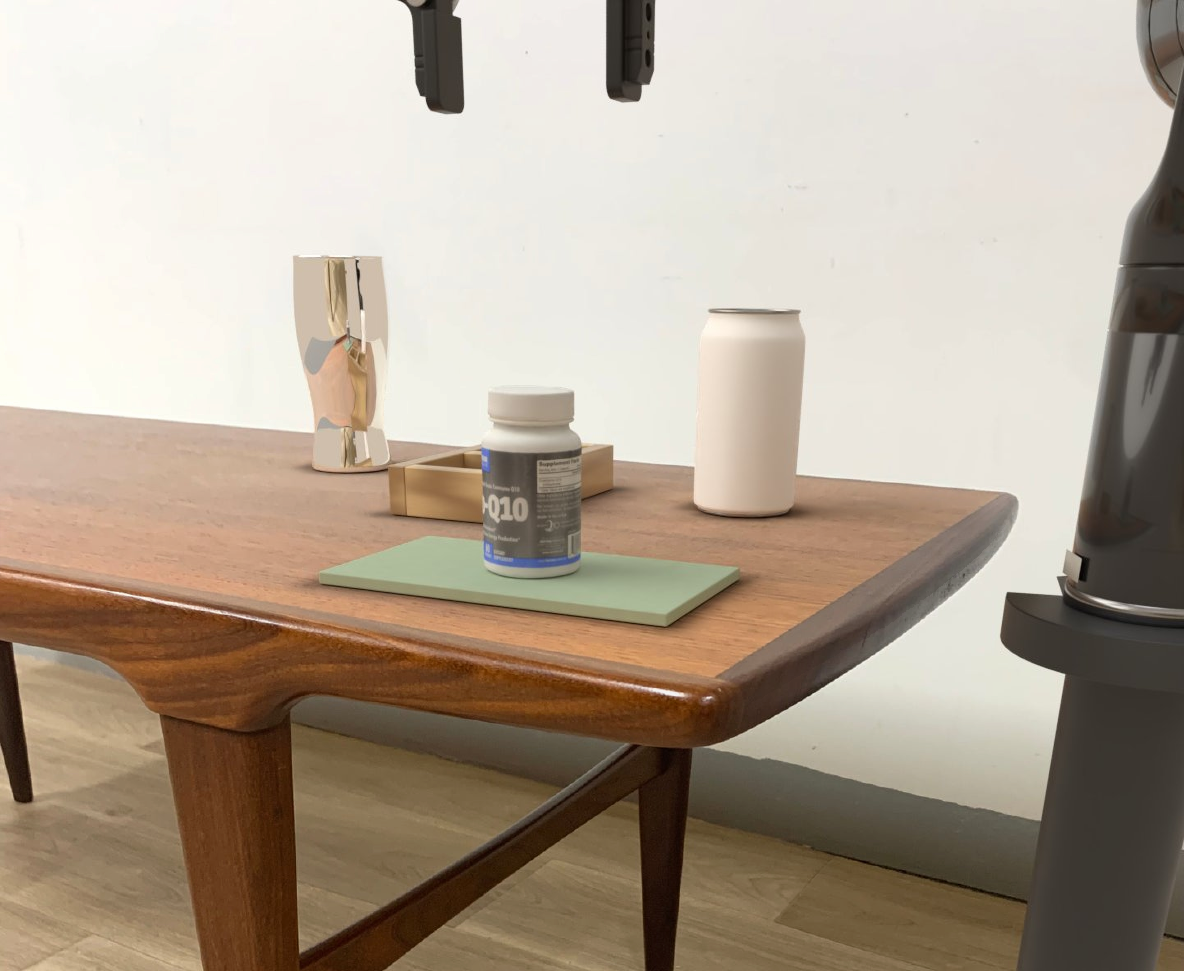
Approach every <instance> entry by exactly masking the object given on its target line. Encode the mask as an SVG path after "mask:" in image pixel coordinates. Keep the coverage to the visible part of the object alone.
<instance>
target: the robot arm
mask: <svg viewBox="0 0 1184 971" xmlns="http://www.w3.org/2000/svg"><path fill="white" fill-rule="evenodd" d="M397 1H398V2H401V3H402V4H404V5H405V6H406V7H407V8H408V10H409V12H410V16H411V21H412V22H411V25H412V40H413V56H414V58H413V61H414V79H415V80H414V81H415V85H416V86H415V87H416V89H417V91H418V94H419V96H420V97H422V98H425V104H426V107H427V108H428V110H429V111H430V112H433V113H438V114H441V115H459V114H462V113H463V112H464V109H465V85H464V84H465V82H464V60H463V59H464V57H463V31H462V29H463V28H462V17H459V16H456V15H454V12H455V10H456V8H457V6H458V4H459V2H460V0H397ZM1135 10H1136V12H1135V39H1136V46H1137V50H1138V51H1137V52H1138V56H1139V62H1140V63H1141V67H1142V69H1143V72H1144V75H1145V78H1146V80H1147V82H1148V84H1149V85H1150V88H1151V89H1152V91H1153V93H1155V94H1156V96H1157V97H1158V98H1159V99H1160V101H1162V102H1163V104H1165V105H1166V106H1167V107H1168V108H1170V109H1171V110H1172V111H1173V112H1172V118H1171V122H1170V127H1169V132H1168V137H1167V141H1166V145H1165V148H1164V152H1163V154H1162V157H1161V159H1160V162H1159V164H1158V167H1157V168H1156V171H1155V173H1154V174H1153V176H1152V179H1151V181H1150V182H1149V184H1148V186H1147V187H1146V188H1145V190H1144V192H1143V193H1142V194H1141V195H1140V197H1139V199H1138V200H1137V201H1136V202H1135V203H1134V204H1133V206H1132V208H1131V209H1130V211H1129V213H1128V215H1127V218H1126V220H1125V225H1124V230H1123V235H1122V239H1121V240H1122V241H1121V248H1120V251H1119V252H1120V253H1119V259H1118V266H1119V267H1117V271H1116V278H1115V284H1114V290H1113V291H1114V292H1113V295H1112V301H1111V302H1112V303H1111V308H1110V315H1109V322H1108V328H1107V329H1108V330H1107V334H1106V340H1105V344H1104V353H1103V358H1102V364H1101V371H1100V375H1099V376H1100V377H1099V383H1098V388H1097V389H1098V390H1097V396H1096V402H1095V408H1094V414H1093V421H1092V426H1091V432H1090V439H1089V445H1088V451H1087V458H1086V464H1085V470H1084V477H1083V482H1082V487H1081V488H1082V489H1081V493H1080V494H1081V496H1080V501H1079V508H1078V513H1077V518H1076V525H1075V532H1074V539H1073V544H1072V551H1070V550H1069V549H1068V548H1066V550H1065V555H1064V560H1063V561H1064V562H1063V567H1062V574H1064V576H1068V578H1067V579H1066V582H1065V588H1064V594H1063V595H1062V596H1063V600H1064V601H1065V603H1067V604H1068V605H1069V606H1071V607H1073V608H1075V609H1077V610H1079V611H1082V612H1085V613H1087V614H1090V615H1094V616H1097V617H1101V618H1105V619H1110V620H1114V621H1119V622H1125V623H1131V624H1138V625H1145V626H1155V627H1166V628H1184V0H1136V9H1135ZM655 34H656V0H605V90H606V93H607V97H608V98H609V99H610V100H613V101H614V102H615V101H616V102H619V103H623V104H624V103H625V104H626V103H638V102H640V101H641V98H642V93H643V90H642V89H643V86H649V85H650V84H651V81H652V78H653V75H654V72H655V42H656V40H655V39H656V37H655V36H656V35H655Z"/></svg>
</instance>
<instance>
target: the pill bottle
mask: <svg viewBox="0 0 1184 971" xmlns="http://www.w3.org/2000/svg"><path fill="white" fill-rule="evenodd" d="M487 414H488V421H489V422H492V423H493V425H492V428H490V429H489V430H487V431H485V433H484V434H483V437H482V438H481V444H482V445H481V454H482V484H483V523H482V525H483V528H482V529H483V530H482V531H483V533H482V535H483V538H482V539H483V541H484V563H485V567H486V568H487V569H488V570H489V571H491V572H493V573H496V574H499V575H503V576H507V577H513V578H526V579H537V578H549V577H556V576H562V575H567V574H571V573H573V572H575V571H576V570H577V569H578V568H579V566H580V557H581V551H582V545H581V544H582V538H581V537H582V500H581V462H582V445H581V443H582V439H581V437H580V436H579V434H578V433H577V432H575V431H574V430H573V429H571V427H570V423H573V422H574V421H575V418H574V416H575V390H573V389H571V388H566V387H559V386H547V385H499V386H493V387H489V388H488V390H487Z"/></svg>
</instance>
